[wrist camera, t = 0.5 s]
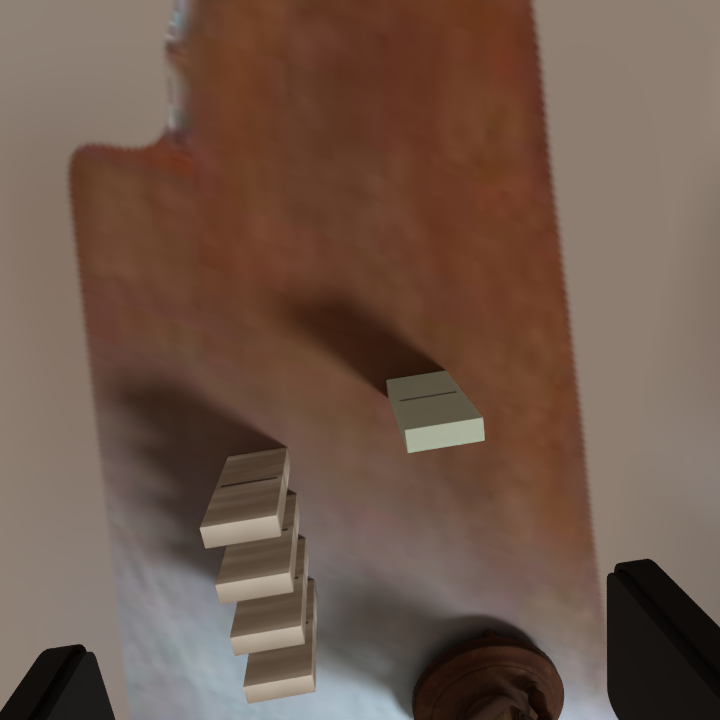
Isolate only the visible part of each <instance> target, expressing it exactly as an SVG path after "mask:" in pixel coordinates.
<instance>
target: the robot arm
mask: <svg viewBox="0 0 720 720" xmlns="http://www.w3.org/2000/svg"><path fill="white" fill-rule="evenodd" d="M607 691H608V696H609V700H610V703H611V706H612V708H613V710H614V712H615V714H616V716H617V718H618V719H619V720H720V627H719V626H718V625H717V624H716V623H715V622H714V621H713V620H712V619H711V618H710V617H709V616H708V615H707V614H706V613H705V612H704V611H703V610H702V609H701V608H700V607H699V606H698V605H697V604H696V603H695V602H694V601H693V600H692V599H691V598H690V597H689V596H688V595H687V594H686V593H685V592H684V591H683V590H682V589H681V588H680V587H679V586H678V585H677V584H676V583H675V582H674V581H673V580H672V579H671V578H670V577H669V576H668V575H667V574H666V573H665V572H664V571H663V570H662V569H661V568H660V567H659V566H658V565H657V564H656V563H655V562H654V561H652V560H650V559H643V560H636V561H629V562H623V563H618V564H616V566H615V569H614V573H610V574H608V576H607ZM0 720H115V717H114V714H113V711H112V708H111V704H110V701H109V698H108V695H107V691H106V688H105V685H104V682H103V679H102V675H101V672H100V669H99V666H98V663H97V659H96V657H95V655H94V653H93V652H87V651H86V649H85V647H84V646H83V645H80V644H77V645H70V646H64V647H57V648H50V649H46V650H45V651H43V652H42V653H41V654H40V655H39V657H38V658H37V659H36V661H35V662H34V664H33V665H32V667H31V668H30V670H29V671H28V672H27V674H26V676H25V677H24V678H23V680H22V681H21V683H20V684H19V686H18V687H17V688H16V690H15V692H14V693H13V694H12V696H11V697H10V699H9V700H8V701H7V703H6V704H5V706H4V707H3V709H2V710H1V712H0Z"/></svg>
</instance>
